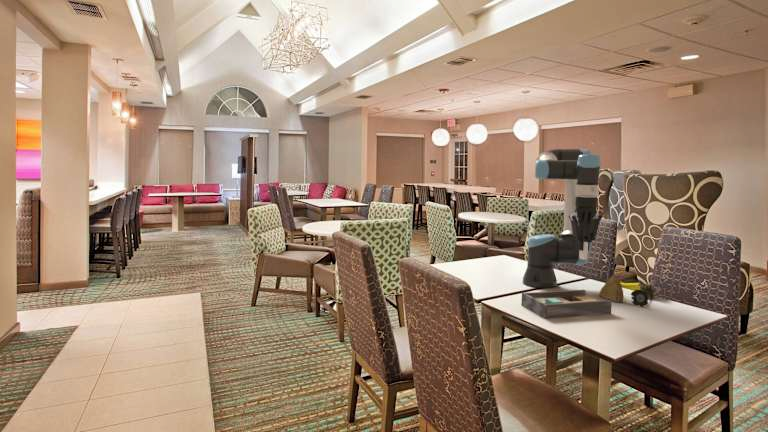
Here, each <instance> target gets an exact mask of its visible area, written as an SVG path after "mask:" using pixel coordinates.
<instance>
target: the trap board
mask: <svg viewBox="0 0 768 432" xmlns="http://www.w3.org/2000/svg"><path fill="white" fill-rule="evenodd" d="M546 298H556V299H558V300H560V301H562V302H563V303H555V304H545V299H546ZM520 305H521V307H524V308H525V309H527V310H528V311H530V312H532V313H534V314H535V315H538V316H539V317H541V318H543V319H557V318H558V319H559V318H569V317H570V318H571V317H584V316H599V315H600V316H601V315H611V314H612V305H613V301H612V300H609V299H605V300H598V299H595V298H594V297H591V296H588V295H586V289H573V290H572V289H571V290H556V291H555V290H554V291H536V292H535V291H533V292H521V303H520Z"/></svg>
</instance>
